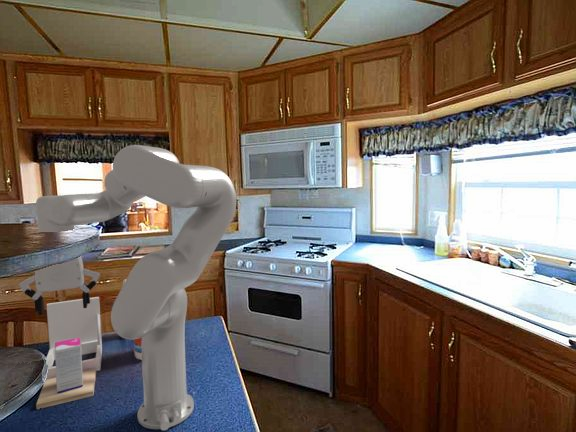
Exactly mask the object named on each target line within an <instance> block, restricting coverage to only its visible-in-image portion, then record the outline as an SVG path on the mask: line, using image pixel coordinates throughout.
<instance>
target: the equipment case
mask: <svg viewBox="0 0 576 432" xmlns="http://www.w3.org/2000/svg"><path fill="white" fill-rule="evenodd" d="M100 306H101V305H100V296H95V297H90V303H89V304H87V308H83V298H80V299H79V298H78V299H72V300H65V301H59V302H58V301H57V302H51V303H47V304H46V314H47V315H46V316H47V329H48V340H49V341H48V342H49V350H48V353H47V355H46V358H45V360H47V365H48V373H47V378H46V379H51V378H55V377H56V365H54V361H56V360H55V343H56V342H60V341H65V340H70V339H75V338H80V342H81V356H83V355H89V354H93V353H95V357H94V358H89V359H85V360H82V372H83V371H88V370H93V369H96V372H98V371H101V365H102V353H103V342H102V325H101V324H102V322H101V307H100ZM53 365H54V366H53Z"/></svg>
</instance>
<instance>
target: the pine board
mask: <svg viewBox="0 0 576 432" xmlns="http://www.w3.org/2000/svg"><path fill="white" fill-rule="evenodd" d="M82 375H83V386H82V387H80V388H77V389H73V390H69V391H66V392H63V393H59V394H57V384H56V377H55V378H51V379H46V380H45V382H44V383H43V386H42V388H41V390H40V394H39V396H38V399H37V401H36V404H35V407H36V409H37V410H40V408H41V409H44V408H49V407H54V406H57V405H62V404H64V403H65V404H66V403H69V402H72V401H73V402H74V401H77V400H82V399H85V398H89V397H93V396H94V393H95V384H96V376H97V371H96V369H93V370H88V371H83V372H82Z"/></svg>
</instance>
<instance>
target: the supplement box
mask: <svg viewBox="0 0 576 432" xmlns="http://www.w3.org/2000/svg"><path fill="white" fill-rule="evenodd" d="M82 356H83V355H81V342H80V338H75V339H70V340H65V341H60V342H56V343H55V360H54V361H55V366H56V384H57V394H59V393H63V392H66V391H69V390H73V389H77V388H80V387H82V386H83V375H82V361H83V360H82V359H83V358H82Z"/></svg>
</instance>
